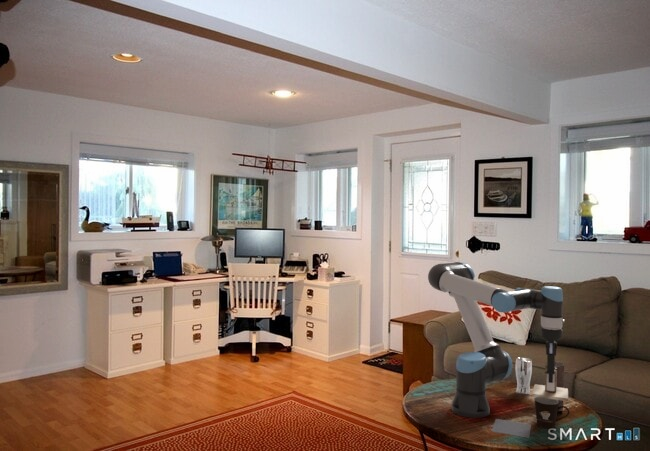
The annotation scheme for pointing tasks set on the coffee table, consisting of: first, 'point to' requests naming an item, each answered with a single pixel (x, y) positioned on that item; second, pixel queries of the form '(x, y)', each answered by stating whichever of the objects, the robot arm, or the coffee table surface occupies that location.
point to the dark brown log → (559, 379)
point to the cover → (544, 393)
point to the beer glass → (523, 375)
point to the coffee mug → (547, 412)
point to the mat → (512, 428)
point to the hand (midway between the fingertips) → (550, 388)
